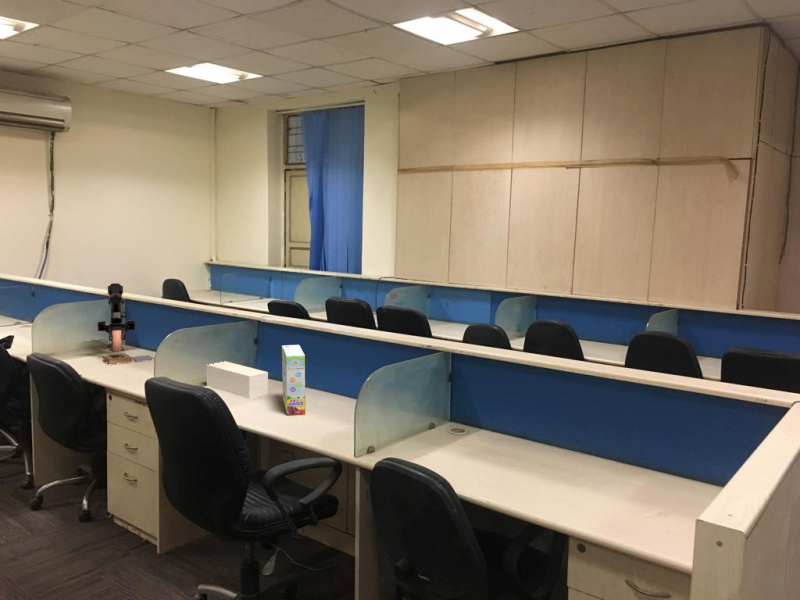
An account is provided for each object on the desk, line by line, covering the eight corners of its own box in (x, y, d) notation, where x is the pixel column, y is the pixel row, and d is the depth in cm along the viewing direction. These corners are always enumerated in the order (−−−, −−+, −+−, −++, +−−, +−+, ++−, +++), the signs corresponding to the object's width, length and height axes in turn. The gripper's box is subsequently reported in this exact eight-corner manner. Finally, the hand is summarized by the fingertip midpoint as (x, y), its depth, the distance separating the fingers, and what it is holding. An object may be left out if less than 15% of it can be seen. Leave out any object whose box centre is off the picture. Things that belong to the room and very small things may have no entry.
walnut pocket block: (103, 361, 349) (103, 355, 348) (125, 358, 356) (124, 353, 356) (109, 365, 340) (109, 359, 340) (131, 362, 347) (131, 357, 347)
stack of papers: (206, 386, 304) (206, 364, 303) (225, 382, 312) (225, 361, 311) (249, 399, 284) (249, 376, 283) (267, 394, 293) (267, 372, 291)
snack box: (280, 401, 282) (281, 344, 279) (300, 400, 284) (300, 344, 281) (285, 416, 261) (285, 355, 258) (306, 415, 264) (306, 354, 260)
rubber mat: (130, 358, 356) (130, 357, 356) (148, 356, 363) (148, 355, 362) (136, 361, 349) (136, 360, 348) (154, 359, 355) (154, 358, 355)
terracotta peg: (111, 350, 347) (111, 330, 346) (120, 349, 350) (119, 329, 349) (114, 351, 344) (113, 331, 343) (122, 350, 347) (122, 330, 346)
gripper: (97, 307, 344) (97, 330, 335) (134, 305, 352) (135, 328, 343) (97, 319, 352) (98, 342, 343) (134, 317, 360) (135, 340, 351)
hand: (117, 338), depth 345 cm, fingers closed on terracotta peg, 4 cm apart
